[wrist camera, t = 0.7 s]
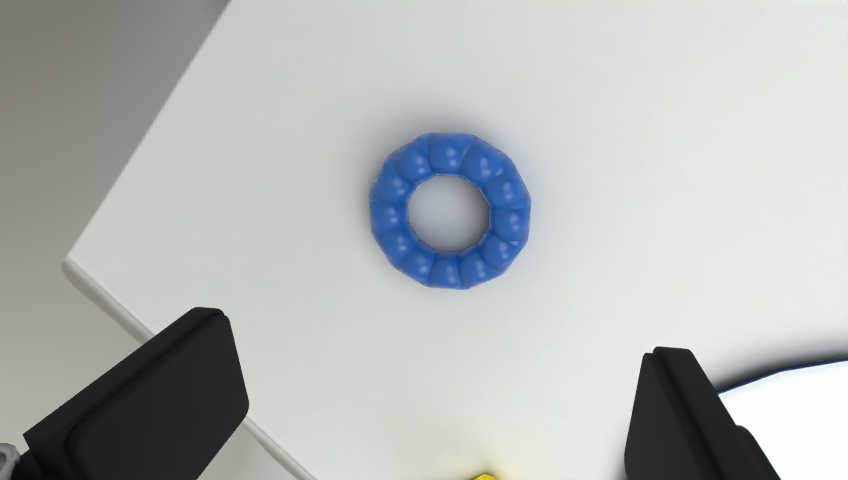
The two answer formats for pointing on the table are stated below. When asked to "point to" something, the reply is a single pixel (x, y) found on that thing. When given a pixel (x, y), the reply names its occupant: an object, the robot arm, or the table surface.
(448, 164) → the ring
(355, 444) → the table surface
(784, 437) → the plate
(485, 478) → the watch
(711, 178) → the table surface
